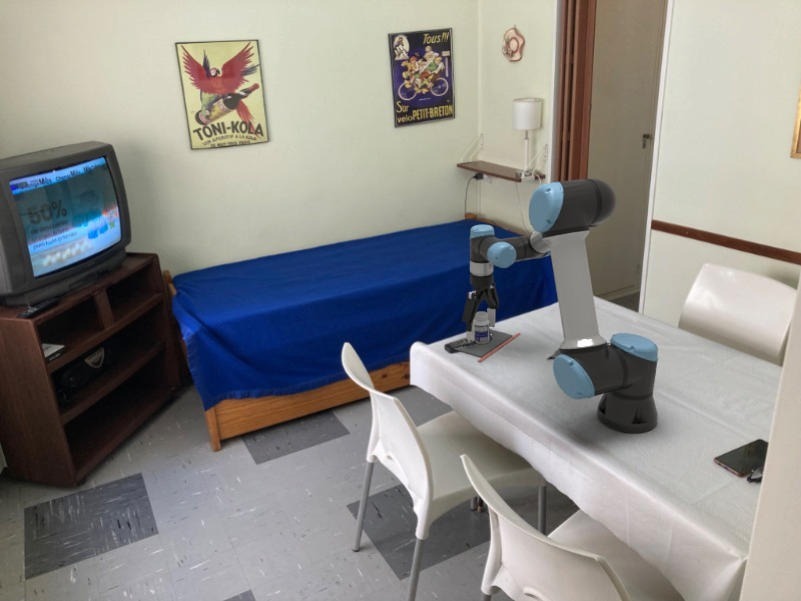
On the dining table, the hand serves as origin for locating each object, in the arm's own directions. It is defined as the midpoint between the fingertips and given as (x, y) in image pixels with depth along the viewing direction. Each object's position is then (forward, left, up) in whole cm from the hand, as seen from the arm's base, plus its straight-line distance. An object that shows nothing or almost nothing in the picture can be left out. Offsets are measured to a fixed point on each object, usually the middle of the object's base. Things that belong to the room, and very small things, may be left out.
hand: (480, 332), depth 218 cm
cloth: (+13, -29, -4) cm, 32 cm away
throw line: (0, -7, -3) cm, 8 cm away
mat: (0, -1, -3) cm, 4 cm away
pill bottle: (0, 0, -3) cm, 3 cm away
